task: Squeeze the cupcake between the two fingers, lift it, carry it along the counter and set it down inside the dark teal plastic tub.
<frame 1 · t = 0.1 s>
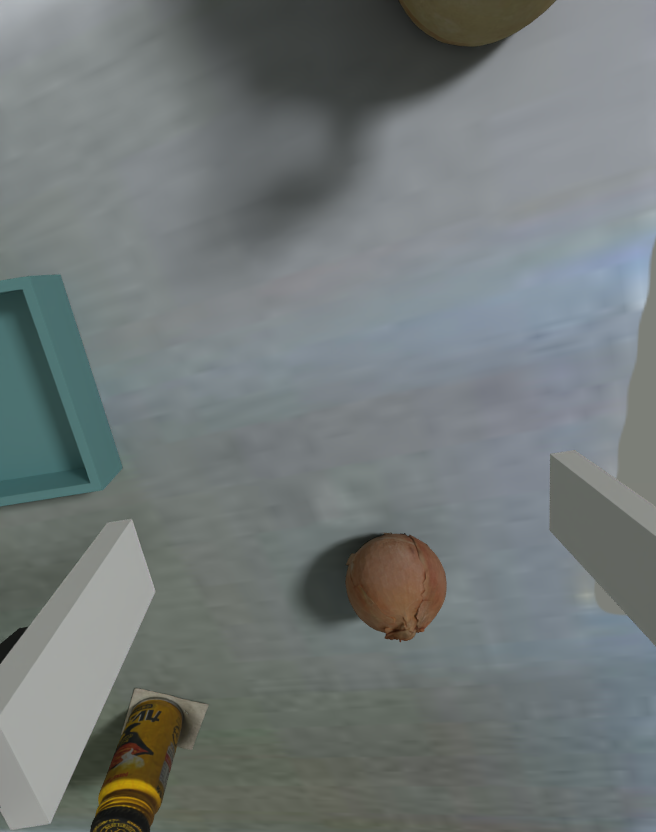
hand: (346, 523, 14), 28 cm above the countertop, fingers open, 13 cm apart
condiment: (165, 716, 54), on the countertop
tub: (11, 390, 41), on the countertop
onion: (387, 553, 48), on the countertop
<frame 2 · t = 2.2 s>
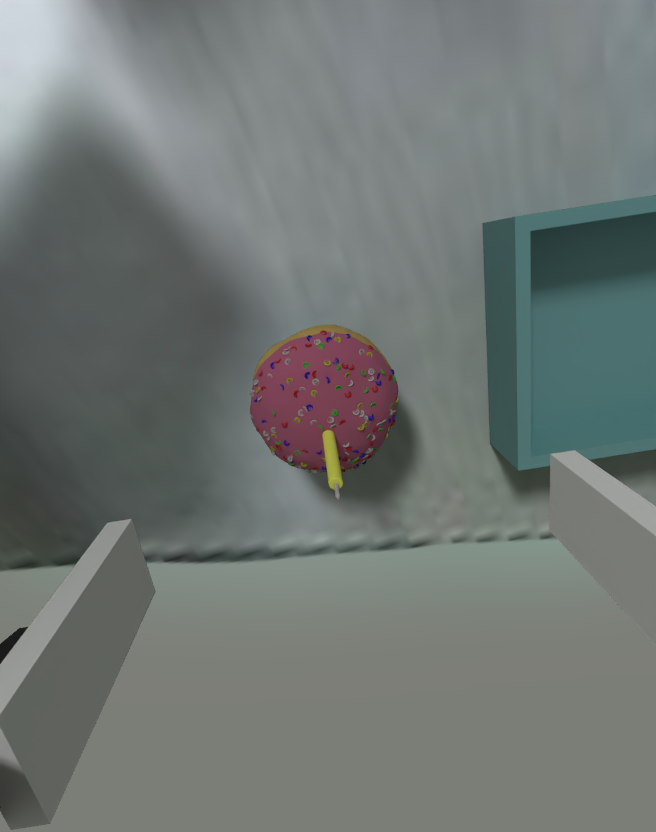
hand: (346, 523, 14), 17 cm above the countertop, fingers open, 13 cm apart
cupcake: (320, 381, 31), on the countertop
tub: (618, 321, 30), on the countertop
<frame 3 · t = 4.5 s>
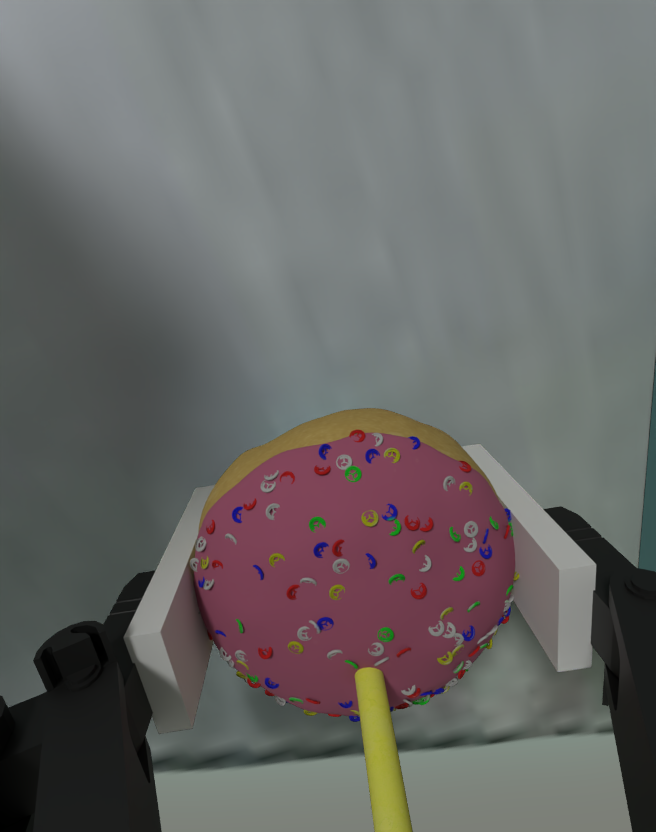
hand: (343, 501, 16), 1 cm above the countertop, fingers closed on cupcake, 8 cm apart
cupcake: (340, 487, 17), on the countertop, touching gripper
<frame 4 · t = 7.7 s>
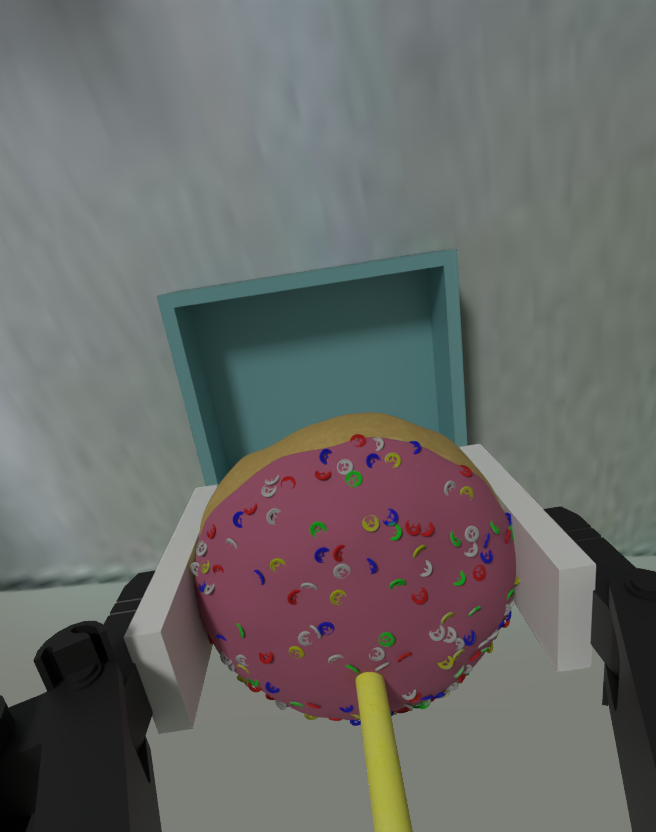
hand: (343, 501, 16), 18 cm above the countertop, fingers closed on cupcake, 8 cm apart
cupcake: (340, 490, 17), point 17 cm above the countertop, touching gripper
tub: (322, 375, 33), on the countertop
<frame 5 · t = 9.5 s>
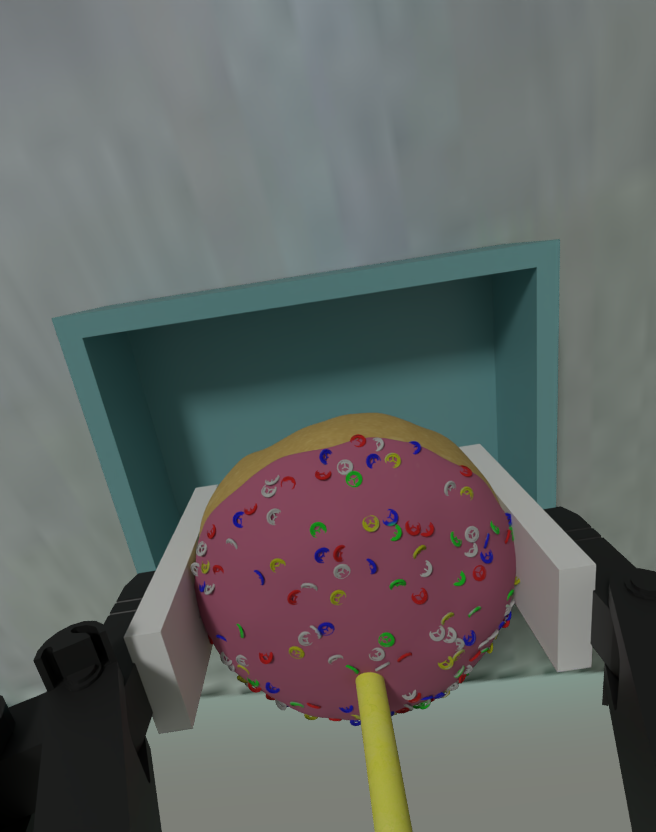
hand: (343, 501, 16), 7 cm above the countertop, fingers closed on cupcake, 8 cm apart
cupcake: (340, 490, 17), point 6 cm above the countertop, touching gripper
tub: (329, 430, 22), on the countertop
when the fingers open (4 cm above the countertop, at t = 11.0 s): cupcake drops 3 cm, resting on tub.
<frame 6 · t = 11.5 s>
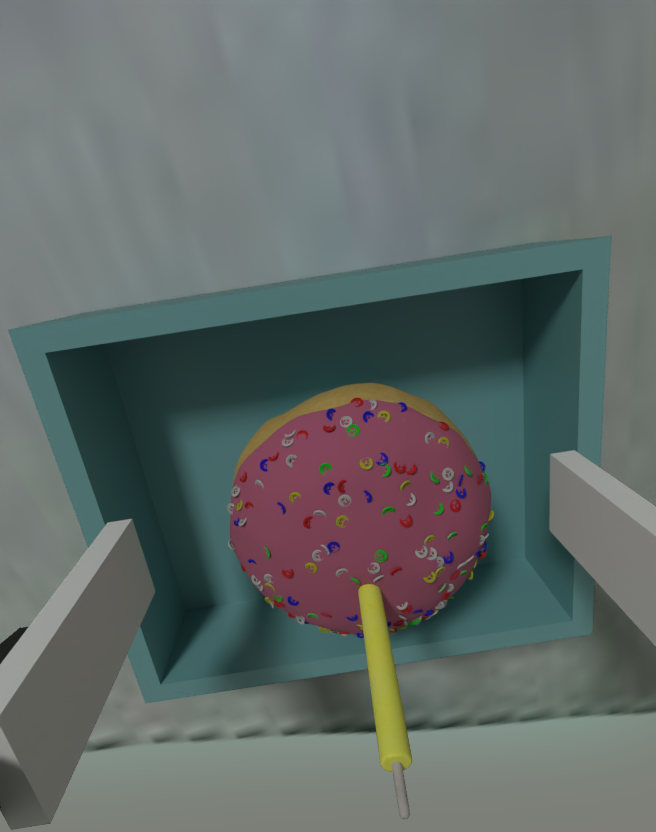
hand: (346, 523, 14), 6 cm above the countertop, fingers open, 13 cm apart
cupcake: (349, 458, 20), resting on tub
tub: (335, 452, 20), on the countertop
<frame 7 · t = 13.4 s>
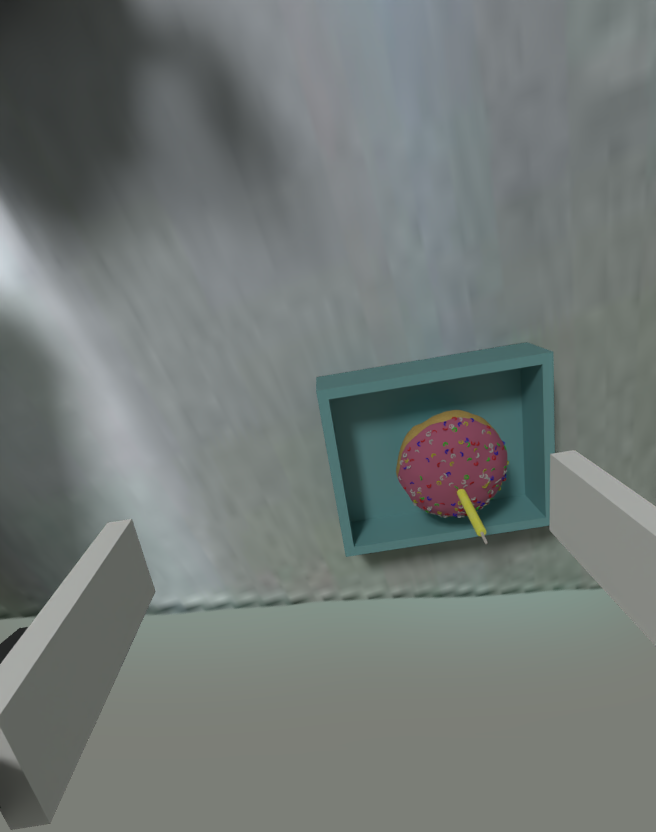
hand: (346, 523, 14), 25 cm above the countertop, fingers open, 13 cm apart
cupcake: (436, 443, 40), resting on tub
tub: (429, 440, 41), on the countertop
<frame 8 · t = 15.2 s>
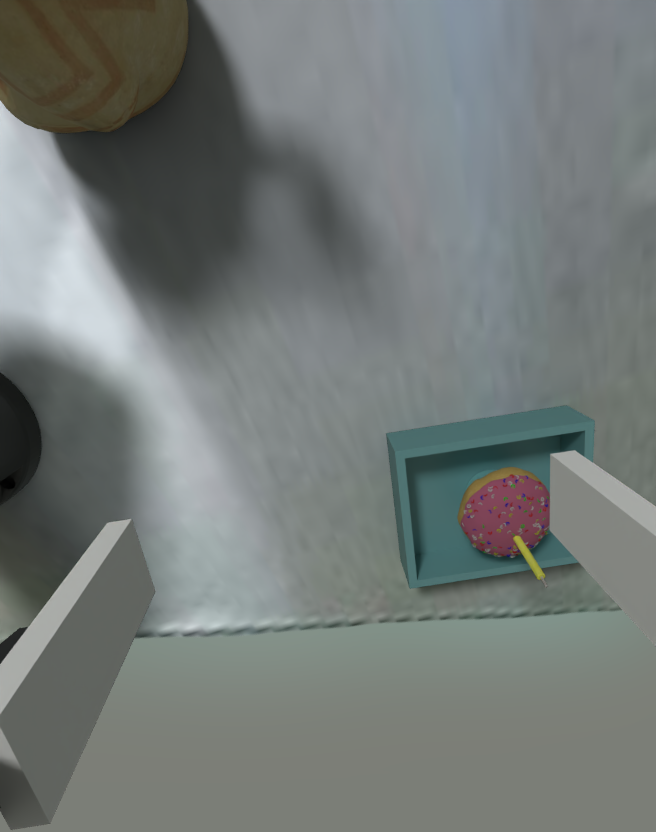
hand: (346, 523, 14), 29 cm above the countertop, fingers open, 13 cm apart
cupcake: (486, 489, 47), resting on tub
tub: (479, 486, 47), on the countertop
ceramic vessel: (102, 28, 34), on the countertop
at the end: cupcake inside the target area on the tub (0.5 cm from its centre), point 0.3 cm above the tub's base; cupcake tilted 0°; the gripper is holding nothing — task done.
